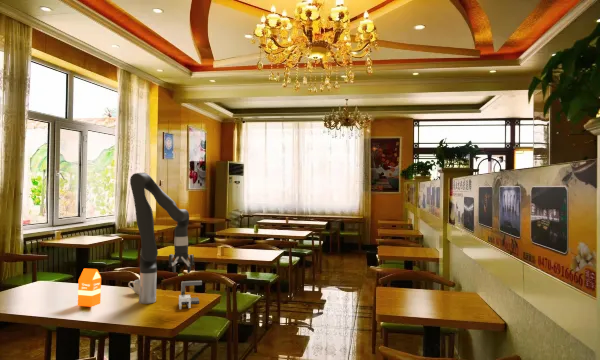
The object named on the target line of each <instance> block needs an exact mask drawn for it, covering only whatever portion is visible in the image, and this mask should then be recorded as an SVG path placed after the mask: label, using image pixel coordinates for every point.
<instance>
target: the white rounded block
mask: <svg viewBox="0 0 600 360" xmlns="http://www.w3.org/2000/svg"><path fill="white" fill-rule="evenodd" d="M191 298H192V297H191V294H186V293H185V294H184V295H181V294H179V295H178V309H179V310H182V306H183V304H182V302H188V304H187V308H188V309H189V308H192V307H191V305H192V304H191Z"/></svg>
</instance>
